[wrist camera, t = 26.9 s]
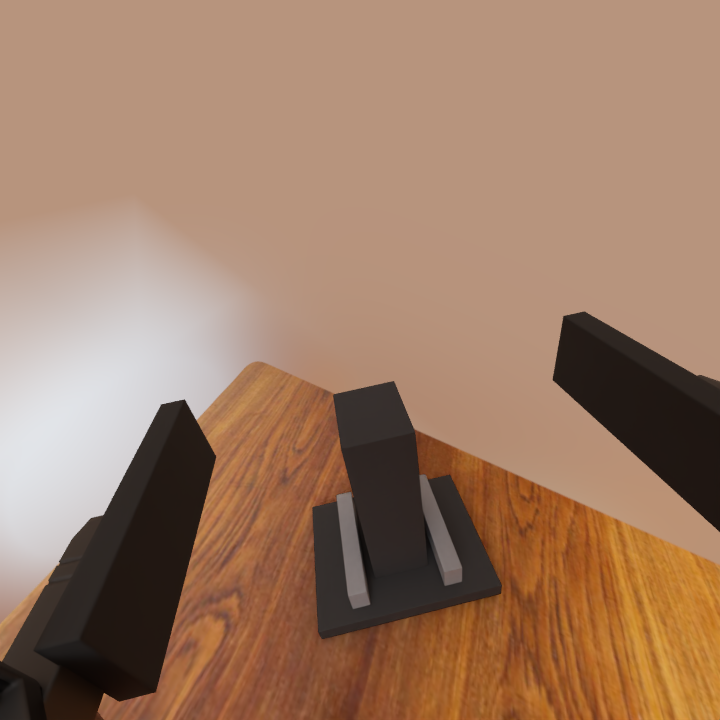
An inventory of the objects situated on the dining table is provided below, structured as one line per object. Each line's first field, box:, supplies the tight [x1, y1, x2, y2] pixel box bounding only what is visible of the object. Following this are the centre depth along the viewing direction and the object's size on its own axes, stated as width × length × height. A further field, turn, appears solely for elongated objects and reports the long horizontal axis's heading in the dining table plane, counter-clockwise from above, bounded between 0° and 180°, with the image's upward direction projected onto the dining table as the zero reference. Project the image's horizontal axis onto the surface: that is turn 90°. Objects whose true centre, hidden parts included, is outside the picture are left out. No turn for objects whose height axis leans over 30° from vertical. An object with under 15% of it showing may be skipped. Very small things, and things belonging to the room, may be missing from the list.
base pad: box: [313, 474, 502, 639], centre depth 34 cm, size 16×12×4 cm
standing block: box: [333, 381, 428, 578], centre depth 30 cm, size 5×6×17 cm
